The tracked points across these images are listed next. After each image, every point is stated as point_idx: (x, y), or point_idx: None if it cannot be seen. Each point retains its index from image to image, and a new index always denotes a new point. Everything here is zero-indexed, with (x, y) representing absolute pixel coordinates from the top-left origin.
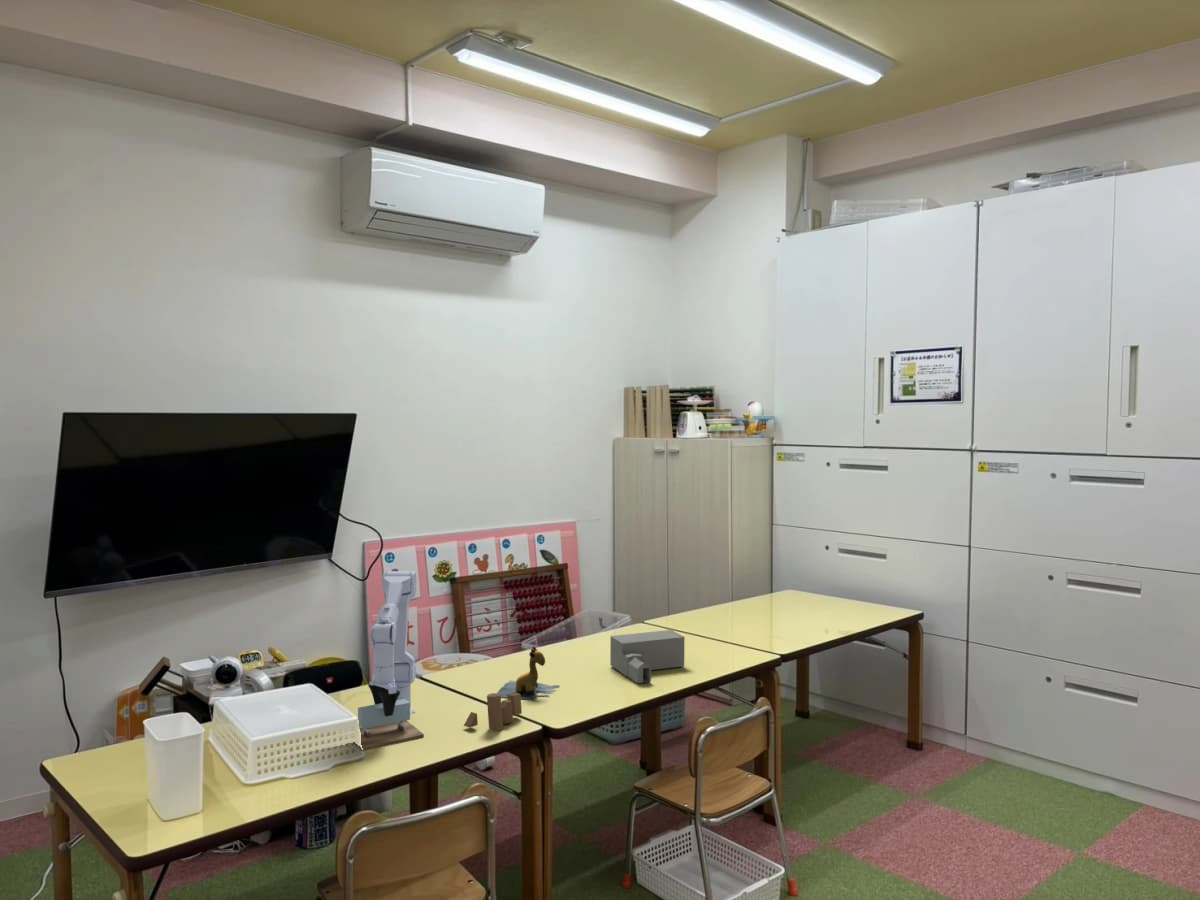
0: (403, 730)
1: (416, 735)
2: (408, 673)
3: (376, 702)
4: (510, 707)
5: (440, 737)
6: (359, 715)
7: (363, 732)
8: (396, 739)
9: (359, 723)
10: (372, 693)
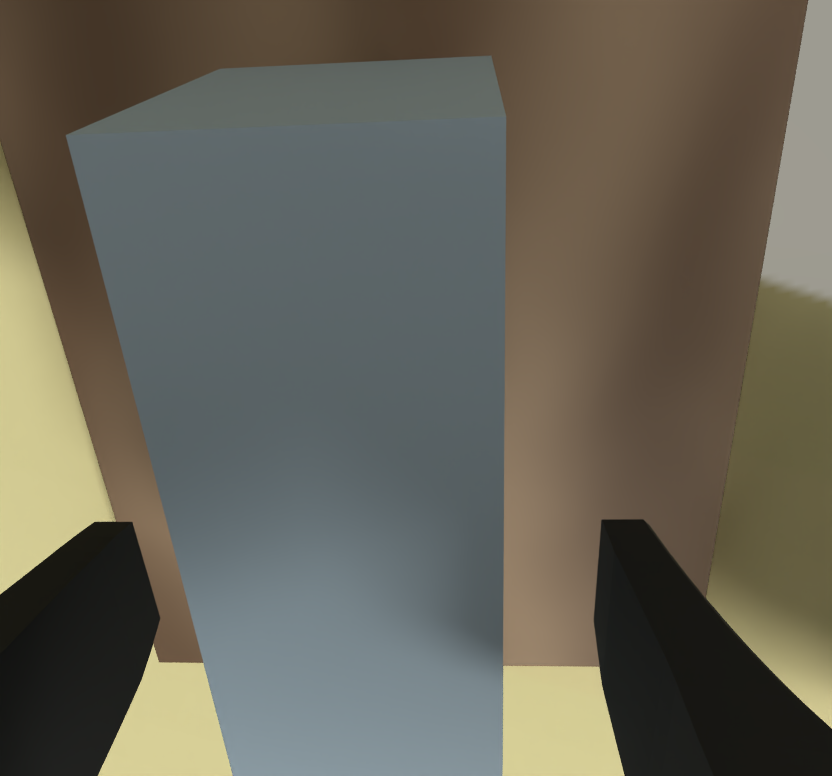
0: None
1: None
2: None
3: (631, 613)
4: None
5: (146, 723)
6: (379, 91)
7: (554, 147)
8: (108, 426)
9: (404, 67)
10: (790, 757)
